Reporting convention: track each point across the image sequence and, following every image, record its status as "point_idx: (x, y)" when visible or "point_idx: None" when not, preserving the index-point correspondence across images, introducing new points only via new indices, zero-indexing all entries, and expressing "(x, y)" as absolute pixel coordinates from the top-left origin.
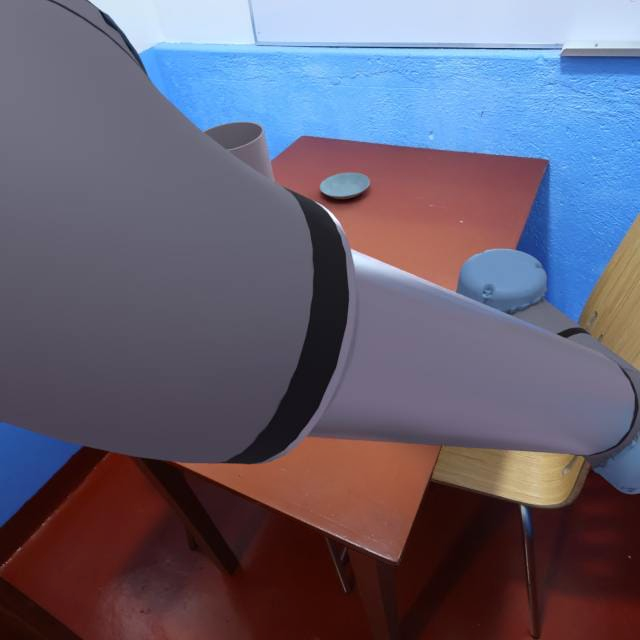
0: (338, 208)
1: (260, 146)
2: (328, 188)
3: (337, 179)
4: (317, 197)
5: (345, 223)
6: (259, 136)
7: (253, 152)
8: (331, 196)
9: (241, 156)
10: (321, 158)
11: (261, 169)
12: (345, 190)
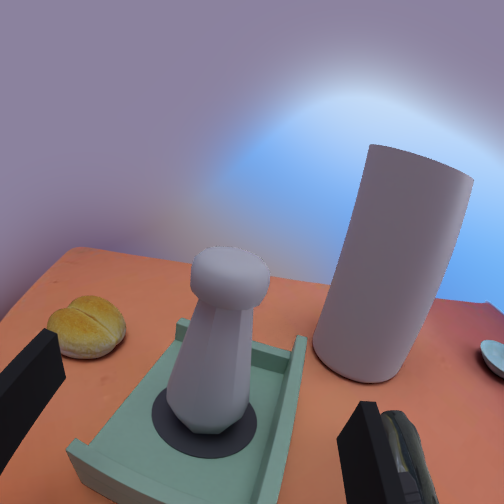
0: (484, 378)
1: (457, 185)
2: (487, 351)
3: (500, 349)
4: (471, 351)
5: (480, 401)
6: (463, 173)
7: (442, 181)
8: (487, 359)
9: (421, 172)
10: (494, 325)
11: (439, 218)
12: (501, 366)
